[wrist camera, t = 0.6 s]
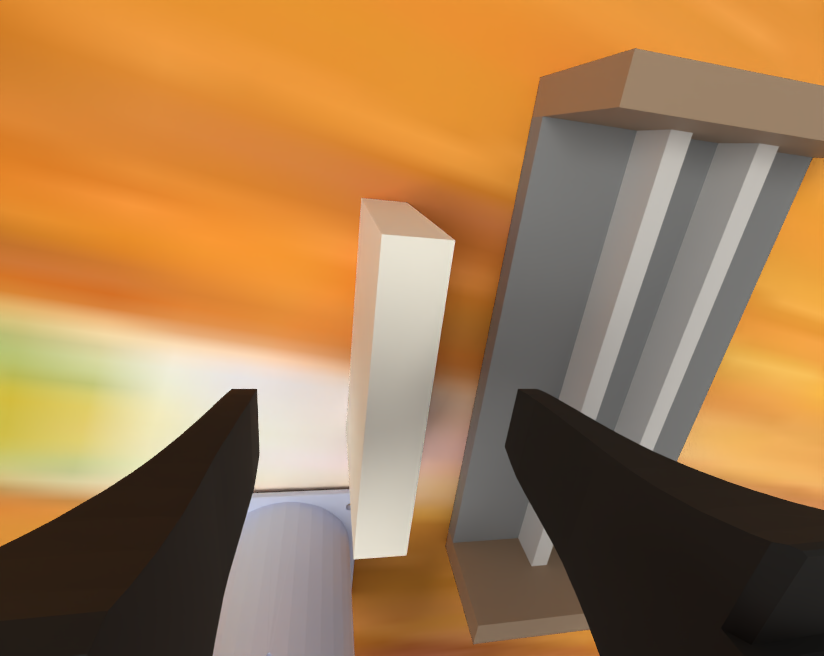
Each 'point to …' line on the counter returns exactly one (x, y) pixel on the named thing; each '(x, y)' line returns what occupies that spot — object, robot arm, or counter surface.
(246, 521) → the robot arm
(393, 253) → the door panel
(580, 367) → the cabinet base
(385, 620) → the counter surface
